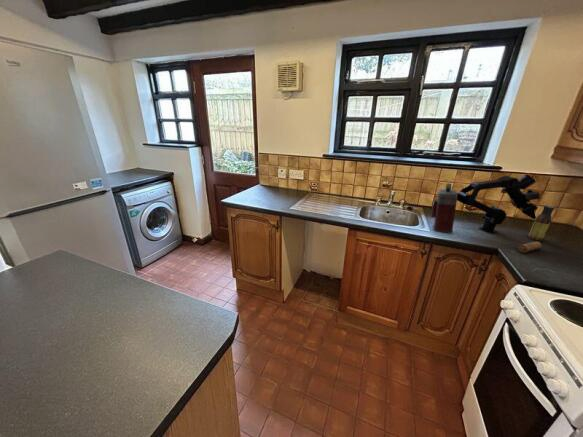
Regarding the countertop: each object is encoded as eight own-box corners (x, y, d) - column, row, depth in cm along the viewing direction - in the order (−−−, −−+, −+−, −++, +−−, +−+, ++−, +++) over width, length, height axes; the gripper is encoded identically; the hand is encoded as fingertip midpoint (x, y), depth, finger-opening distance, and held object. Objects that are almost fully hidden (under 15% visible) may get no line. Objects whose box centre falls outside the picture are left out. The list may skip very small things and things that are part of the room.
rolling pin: (523, 254, 123) (526, 248, 122) (514, 250, 127) (517, 244, 125) (541, 249, 129) (545, 243, 127) (532, 246, 132) (535, 239, 130)
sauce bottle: (544, 241, 137) (562, 209, 129) (532, 240, 138) (548, 208, 130) (536, 236, 143) (552, 205, 135) (524, 235, 144) (539, 204, 136)
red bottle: (429, 225, 153) (434, 181, 144) (450, 226, 148) (457, 181, 139) (429, 230, 146) (435, 184, 137) (452, 232, 141) (459, 185, 131)
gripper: (541, 190, 126) (557, 214, 127) (525, 182, 142) (539, 203, 143) (516, 202, 132) (532, 224, 133) (503, 193, 148) (517, 212, 149)
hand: (531, 215), depth 139 cm, fingers open, 9 cm apart
